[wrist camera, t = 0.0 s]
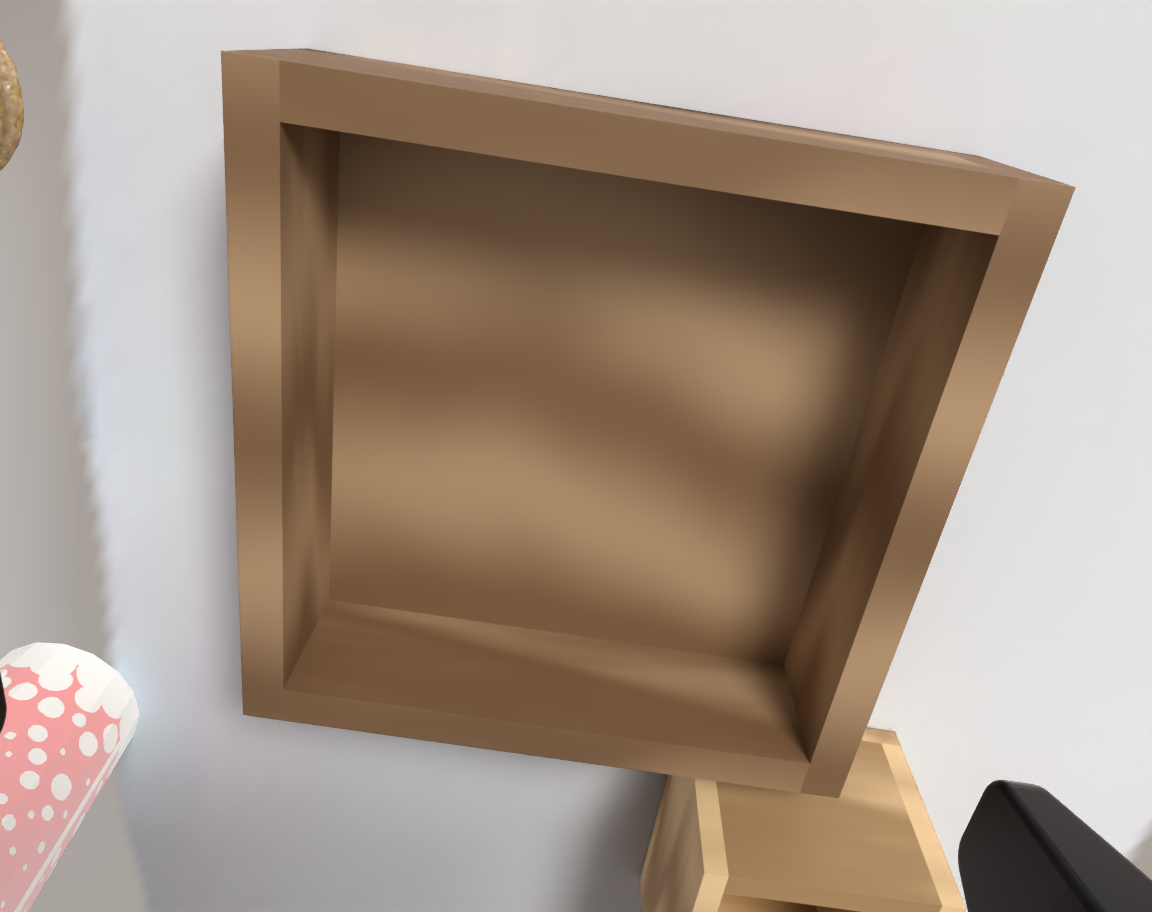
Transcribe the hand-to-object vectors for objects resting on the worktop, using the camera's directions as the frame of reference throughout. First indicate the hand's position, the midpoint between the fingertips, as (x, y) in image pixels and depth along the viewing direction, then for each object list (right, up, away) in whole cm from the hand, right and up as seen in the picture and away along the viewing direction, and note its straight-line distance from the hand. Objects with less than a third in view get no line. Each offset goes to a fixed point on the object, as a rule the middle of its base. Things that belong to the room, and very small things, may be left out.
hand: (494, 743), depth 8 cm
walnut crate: (+1, +4, +15) cm, 15 cm away
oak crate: (+7, -9, +20) cm, 23 cm away
